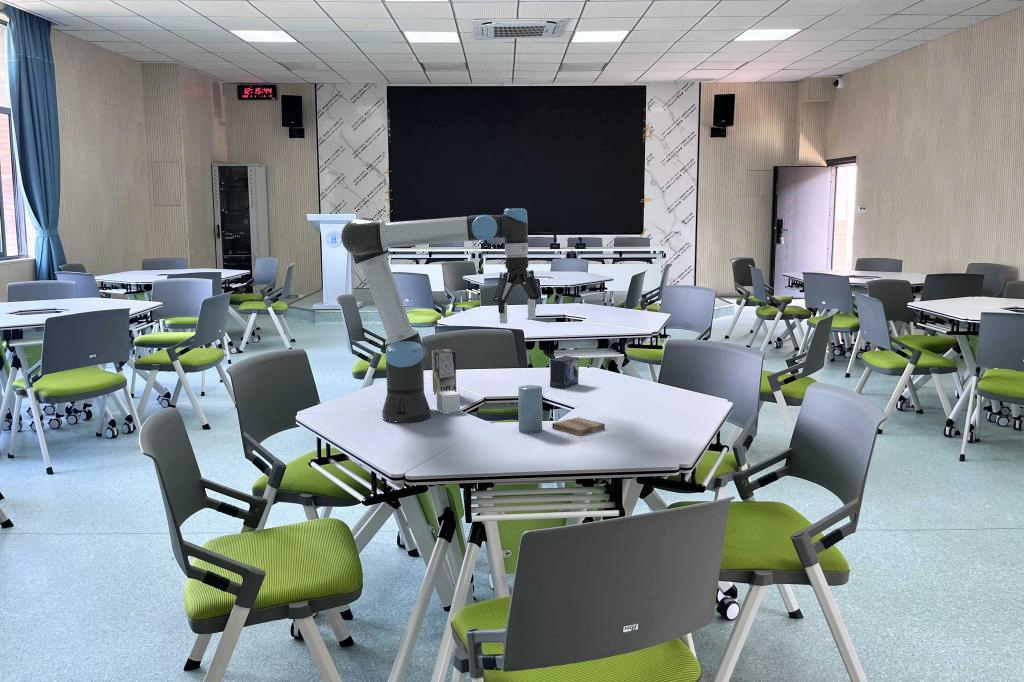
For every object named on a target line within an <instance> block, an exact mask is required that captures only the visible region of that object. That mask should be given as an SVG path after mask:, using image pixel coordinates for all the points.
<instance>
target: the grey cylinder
mask: <svg viewBox="0 0 1024 682" xmlns="http://www.w3.org/2000/svg"><path fill="white" fill-rule="evenodd" d="M517 389H518V390H517V391H518V393H517V394H518V395H517V396H518V397H517V398H518V402H517V403H518V404H517V405H518V432H519V433H521V434H526V435H534V434H539V433H542V432H543V387H542V386H540V385H535V384H528V385H527V384H526V385H520V386H519V387H518V388H517Z"/></svg>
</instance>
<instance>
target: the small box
mask: <svg viewBox="0 0 1024 682" xmlns="http://www.w3.org/2000/svg"><path fill="white" fill-rule="evenodd" d="M579 360H580V358H579V357H576V356H572V355H571V356H569V355H563V356H559V357H555V358H551V359H550V360H549V361H550V362H549V363H550V364H549V365H550V368H549V369H550V370H549V371H550V372H549V373H550V375H549V377H550V379H549V388H554V389H555V388H556V389H562V390H563V389H567V388H570V387H573V386H578V385H579V365H580V363H579V362H580V361H579ZM577 384H578V385H577Z"/></svg>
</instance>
